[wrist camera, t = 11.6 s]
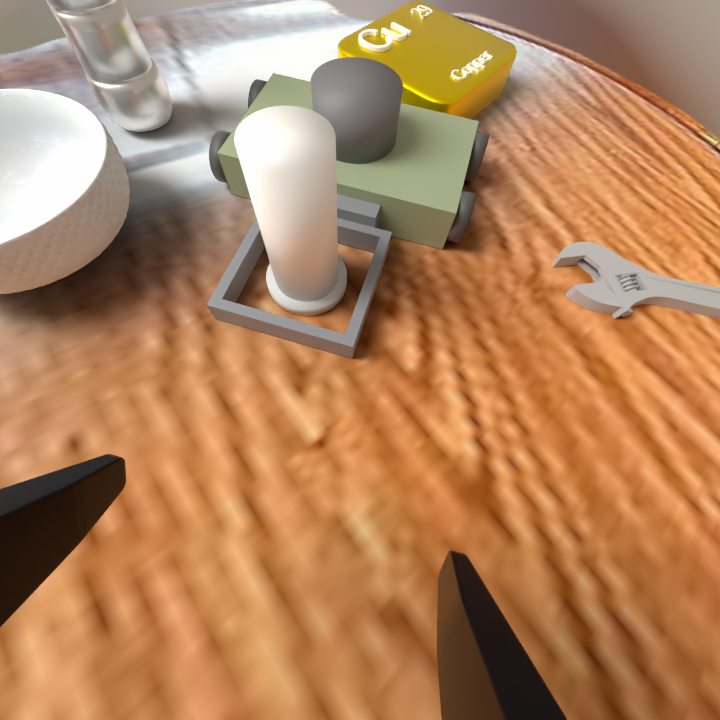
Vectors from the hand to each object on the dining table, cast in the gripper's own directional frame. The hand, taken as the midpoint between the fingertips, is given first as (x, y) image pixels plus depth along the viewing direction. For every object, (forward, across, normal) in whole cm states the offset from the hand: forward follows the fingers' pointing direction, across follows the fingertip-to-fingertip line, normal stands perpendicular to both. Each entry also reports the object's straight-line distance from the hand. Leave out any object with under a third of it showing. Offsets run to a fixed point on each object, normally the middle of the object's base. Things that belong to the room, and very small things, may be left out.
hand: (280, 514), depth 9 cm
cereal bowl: (+20, +28, -1) cm, 34 cm away
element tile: (+42, +2, -23) cm, 48 cm away
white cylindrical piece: (+21, +6, -2) cm, 22 cm away
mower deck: (+26, +6, -7) cm, 27 cm away
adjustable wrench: (+26, -27, -6) cm, 38 cm away
